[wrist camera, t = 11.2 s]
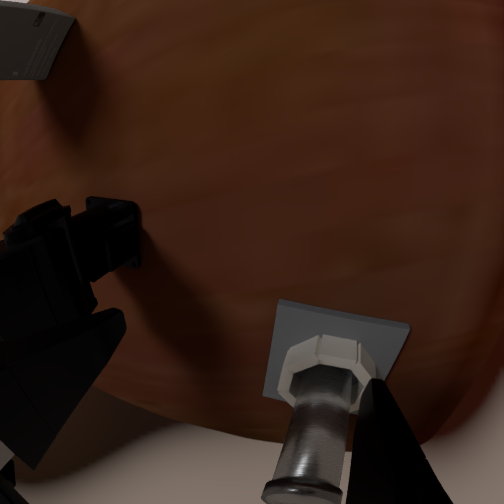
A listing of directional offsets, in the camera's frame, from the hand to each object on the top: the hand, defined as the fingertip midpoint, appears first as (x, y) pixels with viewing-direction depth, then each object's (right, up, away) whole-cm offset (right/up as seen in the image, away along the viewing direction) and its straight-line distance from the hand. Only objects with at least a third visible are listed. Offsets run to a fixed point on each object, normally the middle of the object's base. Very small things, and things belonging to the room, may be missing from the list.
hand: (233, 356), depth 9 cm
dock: (+8, -7, +15) cm, 18 cm away
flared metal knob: (+7, -7, +15) cm, 18 cm away
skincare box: (-22, +28, +10) cm, 37 cm away
